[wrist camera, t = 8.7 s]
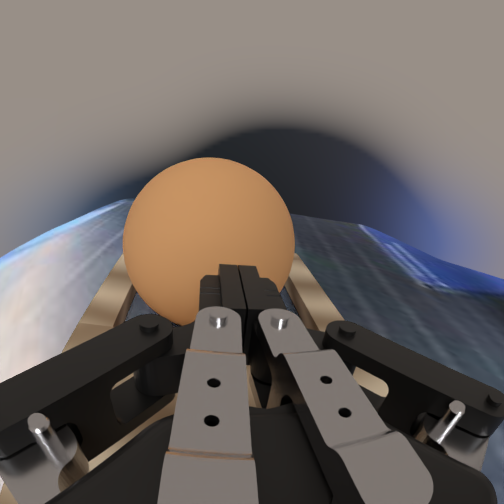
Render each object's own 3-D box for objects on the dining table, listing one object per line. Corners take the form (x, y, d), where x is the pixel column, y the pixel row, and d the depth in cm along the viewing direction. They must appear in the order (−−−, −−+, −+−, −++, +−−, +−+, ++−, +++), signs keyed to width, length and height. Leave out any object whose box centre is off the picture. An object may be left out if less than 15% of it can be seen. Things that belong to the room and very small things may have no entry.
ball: (263, 365, 14) (236, 359, 25) (346, 177, 18) (293, 242, 29) (60, 247, 14) (116, 291, 25) (179, 97, 18) (183, 186, 29)
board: (453, 534, 6) (472, 521, 6) (6, 554, 3) (-13, 543, 3) (294, 265, 36) (296, 253, 36) (130, 255, 33) (129, 243, 32)
